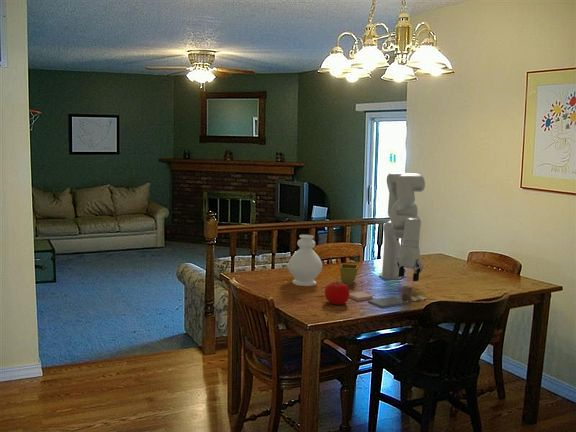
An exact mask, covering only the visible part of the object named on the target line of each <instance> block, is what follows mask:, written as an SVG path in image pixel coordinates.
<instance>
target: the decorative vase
mask: <svg viewBox="0 0 576 432" xmlns="http://www.w3.org/2000/svg"><path fill="white" fill-rule="evenodd" d="M299 238H300V239H298V240H297V243H296V245H297V246H298V247H299V248H298V250H296V252H294V253H293V254H292V256H290V258H289V260H288V264H287V268H288V271H289V272H290V274H291V276H293V278H294V279H293V280H291V281H292V282H291V283H292V284H293V285H295V286H303V287H313V286H316V285H317V281H316V280H315V279H316V278H317V277H318V276H319V275H320V274H321V272H322V270H323V262H322V260H321V258H320V257H319V255H318V254H317V253H316V251H314V249H313V248H314V247H315V246H316V241H315V240H314V238H315V236H314V235H312V234H299Z"/></svg>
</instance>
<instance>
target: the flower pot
mask: <svg viewBox="0 0 576 432" xmlns="http://www.w3.org/2000/svg"><path fill="white" fill-rule="evenodd" d="M358 267H359V265H358V264H349V263H341V265H340V267H339V273H340V280H341V283H343V282H344V284H349V285H350V284H351V285H352V284H353V283H354V282H355V280H356V278H357V275H358V270H359V269H358Z"/></svg>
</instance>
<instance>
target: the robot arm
mask: <svg viewBox="0 0 576 432" xmlns="http://www.w3.org/2000/svg"><path fill="white" fill-rule="evenodd" d="M386 185H387V189H388V194H389V195H388V202H387V203H388V205H387V216H388V218H389V219H390V220H389V221H386V222H385V223H384V224H383V241H384V242H383V256H382V267H381V269H382V272H380V273H379V275H378V276H379V277H380V278H382V279H385V280H392V281H393V280H400V279H402V278H404V277H405V274H406V272H407V270H406V268H408V269H412V271H413V273H412V281H413V282H419V279H420V273H421V272H422V271H423V268H424V264H423V263H422V262H421V252H420V251H421V250H420V237H421V233H420V232H421V226H422V220H421V218H420V217H419V216H418V205H417V204H416V203H415V201H416V197H415V192H417V193H418V192H423V191H424V190H425V189H426V188H425V187H426V182H425V178H424V176H423V175H422V174H420V173H417V172H416V173H415V172H414V173H412V172H391V173H388V174H387V176H386ZM399 239H402V244H401V243H400V241H398V240H399Z"/></svg>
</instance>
